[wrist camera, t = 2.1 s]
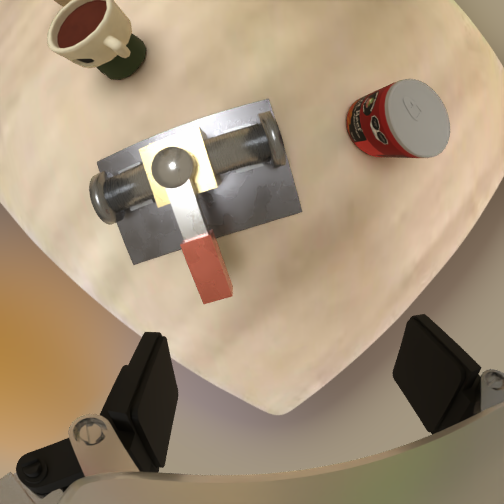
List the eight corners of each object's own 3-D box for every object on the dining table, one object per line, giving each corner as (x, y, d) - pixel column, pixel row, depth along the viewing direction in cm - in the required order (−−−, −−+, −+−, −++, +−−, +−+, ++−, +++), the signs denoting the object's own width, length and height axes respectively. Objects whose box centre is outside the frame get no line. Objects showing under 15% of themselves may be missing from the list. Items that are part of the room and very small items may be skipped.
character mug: (83, 64, 26) (28, 34, 13) (118, 24, 24) (75, -20, 12) (133, 100, 28) (82, 73, 16) (172, 57, 27) (141, 8, 14)
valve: (268, 99, 29) (276, 83, 23) (301, 211, 33) (317, 223, 27) (98, 162, 30) (69, 163, 23) (134, 263, 34) (114, 285, 28)
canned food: (355, 87, 29) (400, 63, 18) (404, 119, 30) (458, 110, 20) (334, 137, 31) (376, 127, 20) (386, 168, 32) (438, 173, 22)
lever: (152, 156, 24) (144, 155, 21) (188, 142, 24) (184, 139, 21) (202, 294, 28) (199, 305, 26) (236, 284, 28) (236, 294, 26)
